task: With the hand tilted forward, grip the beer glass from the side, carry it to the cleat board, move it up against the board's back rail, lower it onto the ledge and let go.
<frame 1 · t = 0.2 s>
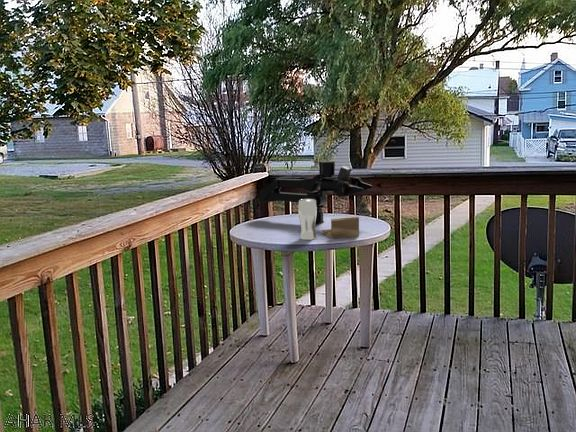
hand: (367, 188, 230), 17 cm above the table, tool horizontal, fingers open, 9 cm apart
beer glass: (308, 239, 215), on the table
cleat board: (339, 234, 221), on the table
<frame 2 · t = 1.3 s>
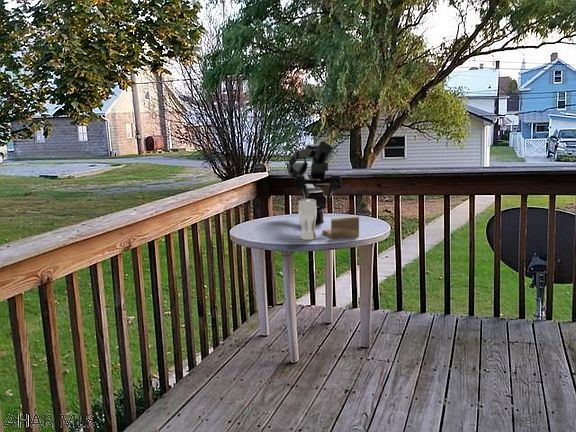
hand: (317, 198, 225), 14 cm above the table, tool tilted 45°, fingers open, 9 cm apart
nothing on the table moved.
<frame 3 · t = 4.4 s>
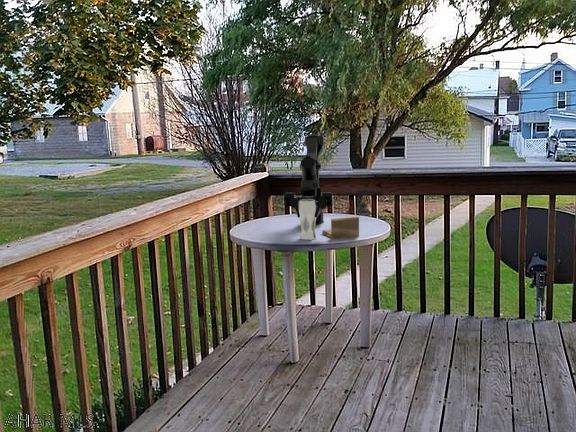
hand: (307, 217, 212), 9 cm above the table, tool tilted 45°, fingers closed on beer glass, 7 cm apart
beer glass: (308, 238, 215), on the table, touching gripper
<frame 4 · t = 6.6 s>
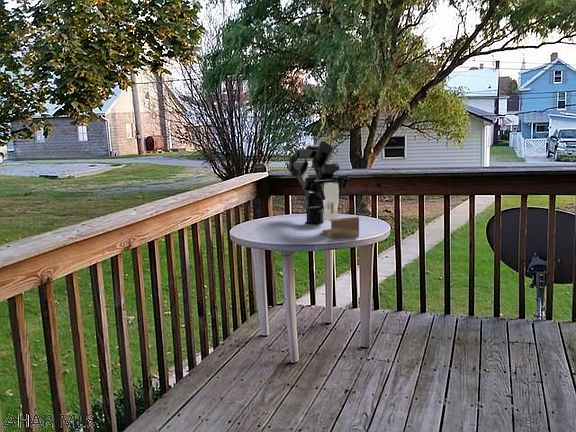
hand: (331, 198, 225), 13 cm above the table, tool tilted 45°, fingers closed on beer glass, 7 cm apart
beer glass: (330, 220, 228), point 4 cm above the table, touching gripper
when the fingers open (11 cm above the table, at t = 8.9 s): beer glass stays where it is, resting on cleat board.
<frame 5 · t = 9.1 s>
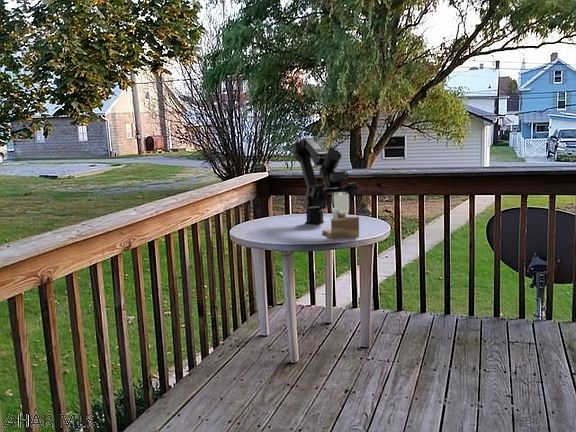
hand: (340, 207, 218), 11 cm above the table, tool tilted 45°, fingers open, 8 cm apart
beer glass: (339, 231, 220), point 1 cm above the table, touching cleat board
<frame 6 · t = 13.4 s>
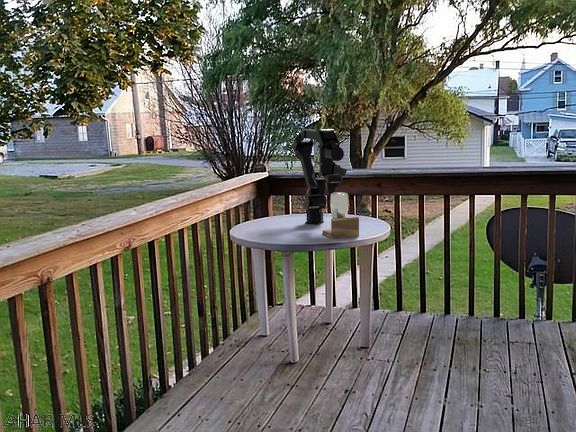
hand: (326, 197, 232), 13 cm above the table, tool pointing down, fingers open, 9 cm apart
nothing on the table moved.
at the end: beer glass 0.2 cm off-centre on the cleat board, point 1.3 cm above the cleat board's base; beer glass tilted 0°; the gripper is holding nothing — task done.
